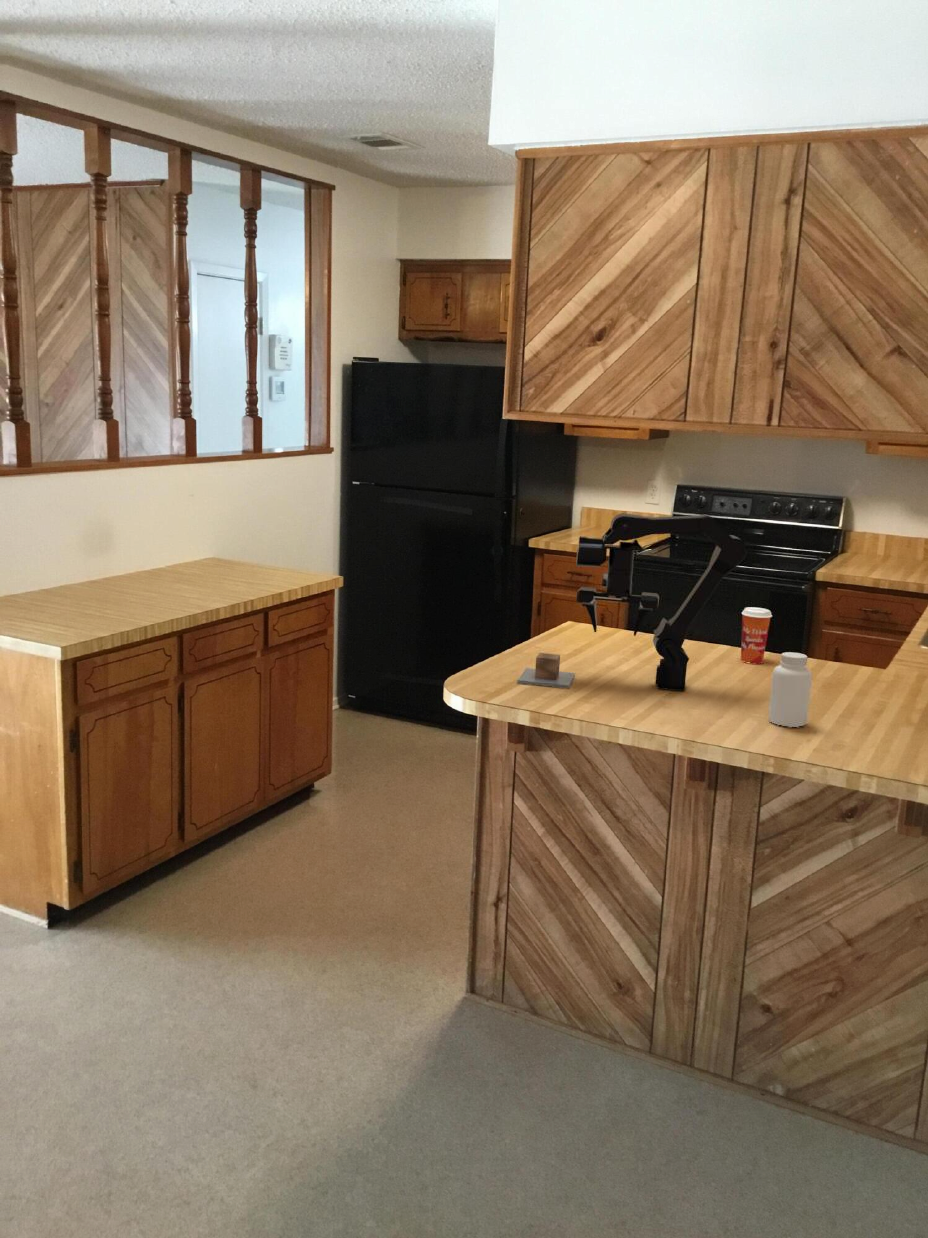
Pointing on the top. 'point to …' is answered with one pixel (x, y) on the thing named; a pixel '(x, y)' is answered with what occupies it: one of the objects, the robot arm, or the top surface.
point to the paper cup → (754, 634)
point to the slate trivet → (561, 681)
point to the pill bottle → (790, 691)
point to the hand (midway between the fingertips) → (615, 633)
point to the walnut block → (547, 666)
